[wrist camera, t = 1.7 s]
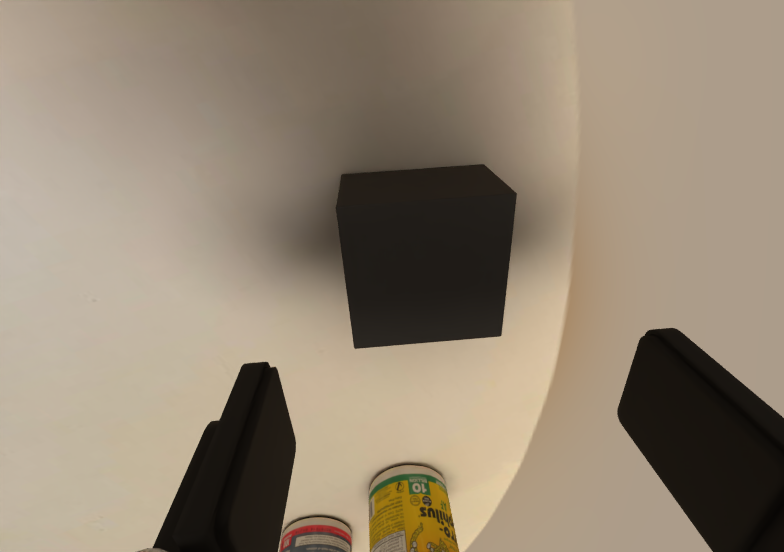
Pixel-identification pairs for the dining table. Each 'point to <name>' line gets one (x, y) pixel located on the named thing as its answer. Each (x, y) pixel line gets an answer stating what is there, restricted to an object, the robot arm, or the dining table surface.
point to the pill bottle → (317, 536)
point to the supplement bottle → (410, 512)
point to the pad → (425, 253)
